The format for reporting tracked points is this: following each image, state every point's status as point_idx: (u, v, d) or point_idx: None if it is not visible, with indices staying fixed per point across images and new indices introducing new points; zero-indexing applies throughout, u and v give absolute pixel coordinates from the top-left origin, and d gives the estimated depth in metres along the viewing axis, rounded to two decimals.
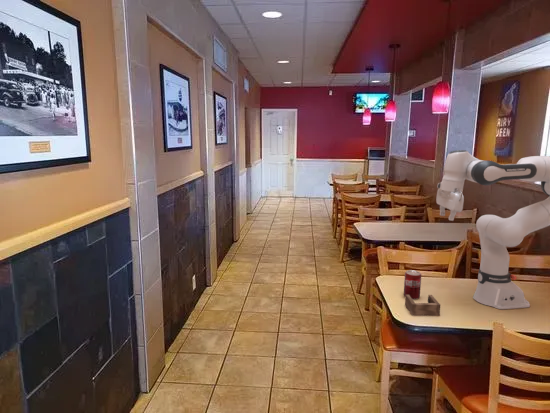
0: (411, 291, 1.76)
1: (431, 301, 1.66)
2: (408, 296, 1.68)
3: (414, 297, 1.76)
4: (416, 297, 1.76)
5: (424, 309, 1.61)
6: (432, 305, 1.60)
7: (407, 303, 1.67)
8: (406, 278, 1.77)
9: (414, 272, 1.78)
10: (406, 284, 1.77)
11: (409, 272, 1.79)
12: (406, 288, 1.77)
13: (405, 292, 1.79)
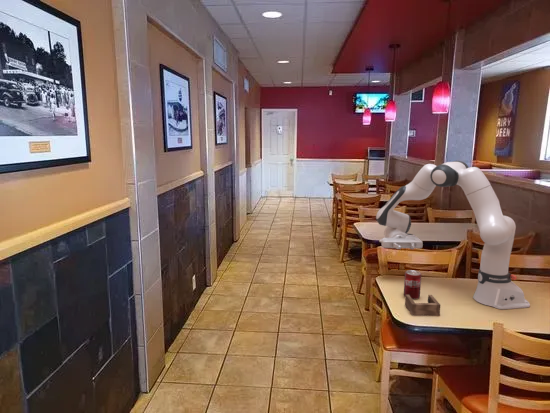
0: (411, 291, 1.76)
1: (431, 301, 1.66)
2: (408, 296, 1.68)
3: (414, 297, 1.76)
4: (416, 297, 1.76)
5: (424, 309, 1.61)
6: (432, 305, 1.60)
7: (407, 303, 1.67)
8: (406, 278, 1.77)
9: (414, 272, 1.78)
10: (406, 284, 1.77)
11: (409, 272, 1.79)
12: (406, 288, 1.77)
13: (405, 292, 1.79)
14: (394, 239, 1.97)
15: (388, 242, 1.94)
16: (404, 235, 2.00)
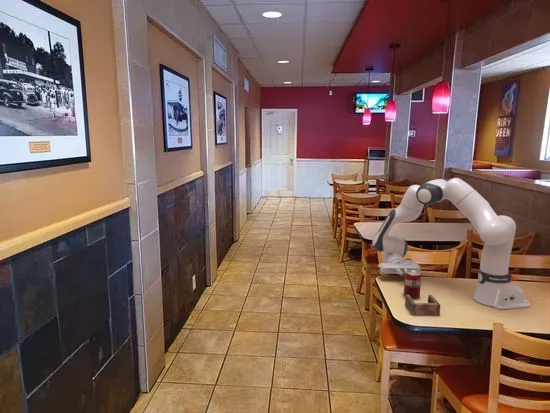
0: (411, 291, 1.76)
1: (431, 301, 1.66)
2: (408, 296, 1.68)
3: (414, 297, 1.76)
4: (416, 297, 1.76)
5: (424, 309, 1.61)
6: (432, 305, 1.60)
7: (407, 303, 1.67)
8: (406, 278, 1.77)
9: (414, 272, 1.78)
10: (406, 284, 1.77)
11: (409, 272, 1.79)
12: (406, 288, 1.77)
13: (405, 292, 1.79)
14: (392, 264, 2.00)
15: (386, 268, 1.96)
16: (402, 260, 2.03)
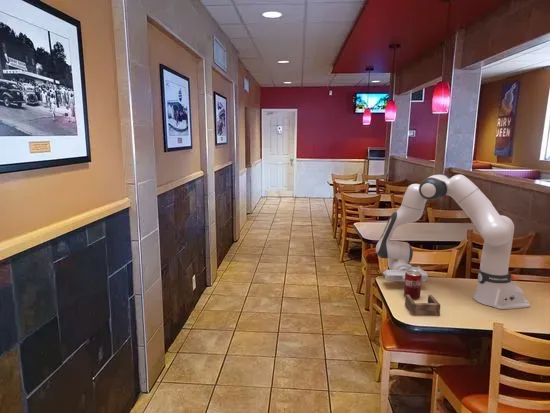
0: (411, 292, 1.75)
1: (431, 301, 1.66)
2: (408, 296, 1.68)
3: (414, 297, 1.76)
4: (416, 297, 1.76)
5: (424, 309, 1.61)
6: (432, 305, 1.60)
7: (407, 303, 1.67)
8: (406, 278, 1.76)
9: (414, 272, 1.78)
10: (406, 284, 1.77)
11: (410, 272, 1.78)
12: (406, 288, 1.77)
13: (405, 292, 1.78)
14: (398, 272, 1.90)
15: (392, 275, 1.87)
16: (408, 267, 1.93)
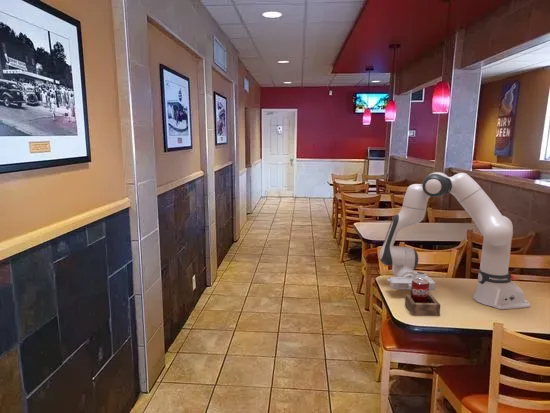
0: (419, 301, 1.66)
1: (431, 301, 1.66)
2: (408, 296, 1.68)
3: None
4: None
5: (424, 309, 1.61)
6: (432, 305, 1.60)
7: (407, 303, 1.67)
8: (413, 287, 1.67)
9: (421, 280, 1.68)
10: (413, 293, 1.67)
11: (416, 280, 1.68)
12: (413, 297, 1.67)
13: None
14: (404, 279, 1.80)
15: (397, 283, 1.77)
16: (414, 274, 1.84)
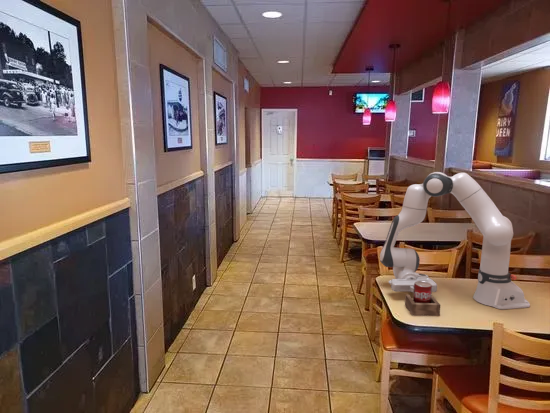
0: None
1: (431, 301, 1.66)
2: (408, 296, 1.68)
3: None
4: None
5: (424, 309, 1.61)
6: (432, 305, 1.60)
7: (407, 303, 1.67)
8: (416, 290, 1.64)
9: (424, 283, 1.65)
10: (416, 296, 1.64)
11: (419, 283, 1.65)
12: (416, 301, 1.64)
13: None
14: (405, 281, 1.78)
15: (399, 285, 1.75)
16: (416, 276, 1.81)
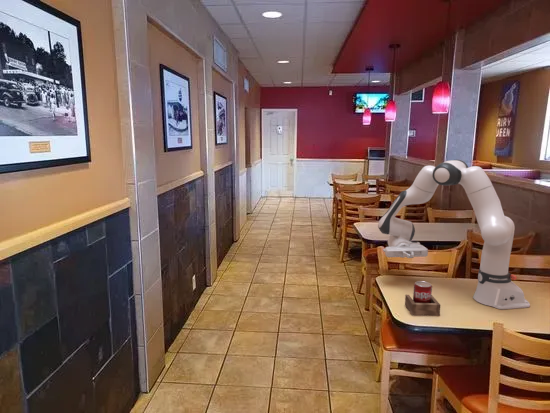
0: None
1: (431, 301, 1.66)
2: (408, 296, 1.68)
3: None
4: None
5: (424, 309, 1.61)
6: (432, 305, 1.60)
7: (407, 303, 1.67)
8: (416, 290, 1.64)
9: (424, 283, 1.65)
10: (416, 296, 1.64)
11: (419, 283, 1.65)
12: (416, 301, 1.64)
13: None
14: (398, 248, 1.91)
15: (392, 251, 1.87)
16: (408, 243, 1.94)
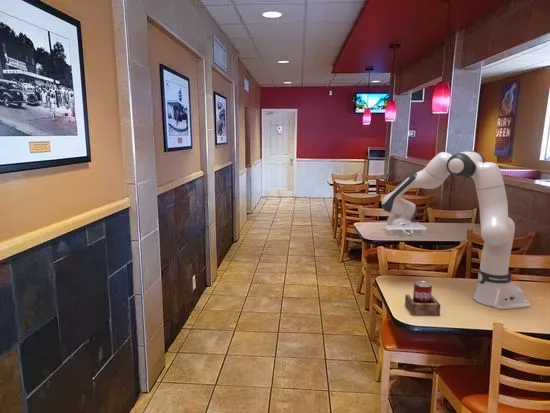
0: None
1: (431, 301, 1.66)
2: (408, 296, 1.68)
3: None
4: None
5: (424, 309, 1.61)
6: (432, 305, 1.60)
7: (407, 303, 1.67)
8: (416, 290, 1.64)
9: (424, 283, 1.65)
10: (416, 296, 1.64)
11: (419, 283, 1.65)
12: (416, 301, 1.64)
13: None
14: (398, 226, 1.91)
15: (391, 229, 1.87)
16: (408, 223, 1.94)
